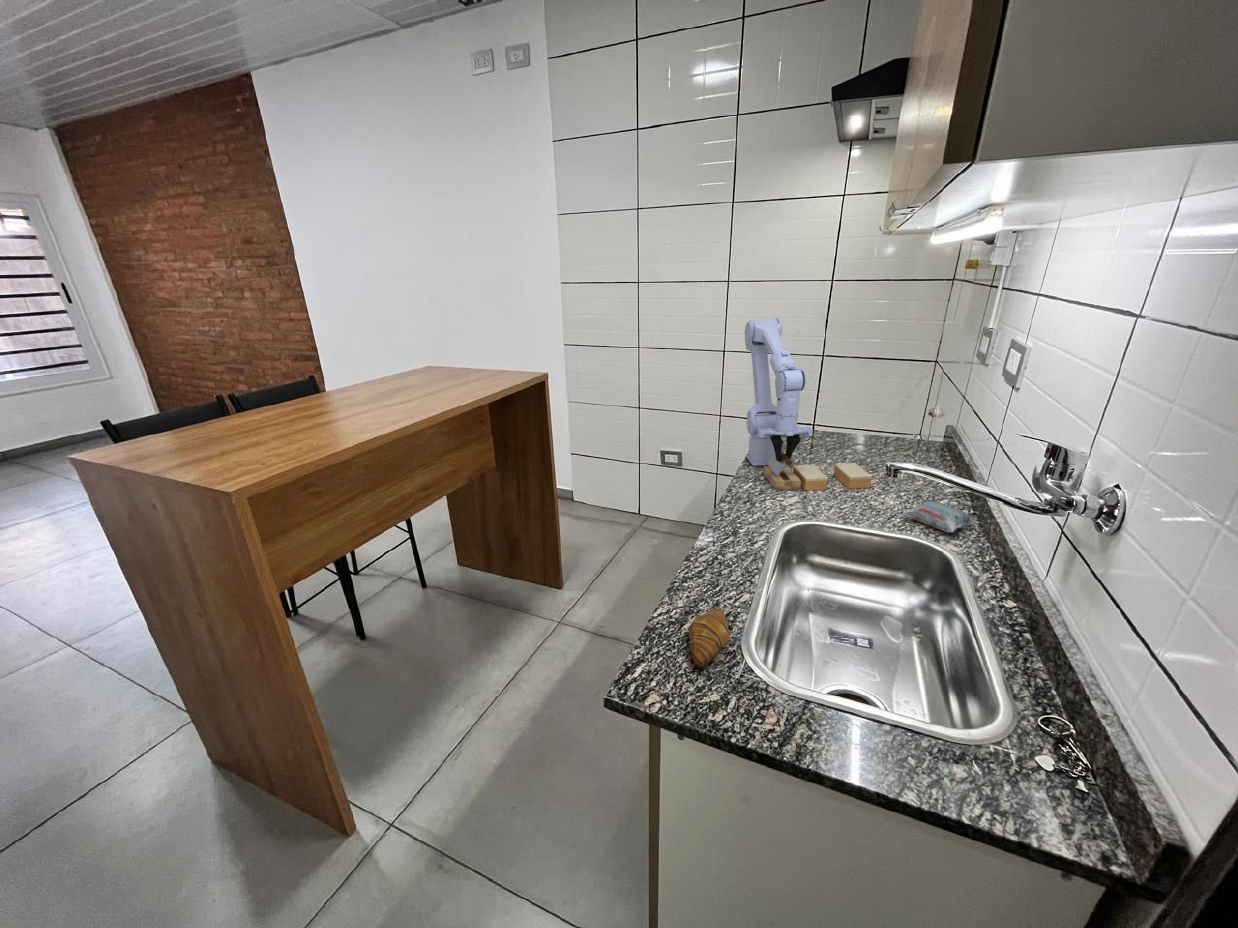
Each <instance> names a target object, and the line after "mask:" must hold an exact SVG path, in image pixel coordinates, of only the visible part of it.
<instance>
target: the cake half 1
mask: <svg viewBox="0 0 1238 928" xmlns="http://www.w3.org/2000/svg"><path fill="white" fill-rule="evenodd" d="M792 471H793V473H794V474H795V475H796V476H797V477H798V478H799V479H800V480H801V488H802V489H803V490H804V491H825V490H827V489H828V488H827V487H828V481H829V477H828V476H826V475H825V474H824V473H823V472H822V471H821V470H820V468H818V467H817V466H816V465H815V464H800V465H798V464H797V465H793V468H792Z"/></svg>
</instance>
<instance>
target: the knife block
mask: <svg viewBox="0 0 1238 928" xmlns="http://www.w3.org/2000/svg"><path fill="white" fill-rule="evenodd" d="M762 466H763V467H762V474H763V476H764V477H765V478H766V480H767V481H768V482H769V484H770V485H771V486H772V488H773V489H774V491H785V490H786V491H787V490H801V488H802V486H801V480H800V479H799V478H798V477H797V476H796V475H795V474H794V473H793V469H791V468H790V466H788V465H787V466H786V468H785V469H784V470H783V471H782V472H781V473H780V474H779V475H778V476H777V475H776V474H775V472H774V471H773V470H772V469H771V467H770V466H769V465H762Z"/></svg>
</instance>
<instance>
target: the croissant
mask: <svg viewBox="0 0 1238 928" xmlns="http://www.w3.org/2000/svg"><path fill="white" fill-rule="evenodd" d="M729 626H730V623H729V621H728V619H727V617H726V613H725V612H724V611H723V610H722V609H710V610H709V611H707V612H705V613H703V614H698V615H697V616H696V617H695V619H694V620H693V621H692V622H691V624H690V625H689V626H688V638H689V642H688V647H689V651H690V655H691V659H692V662H693V666H694V668H697V669H699V670H700V669H701V670H702V669H704V668H705V667H707V666H708V665H709V664H710V663H711V662H712V661H713V660H714V659H715V658H716V657H717V655H718V654H719V652H720V650H722V648H723V647H724V646H725V645H726V644H727V642H728V641H729V639H730V629H729Z"/></svg>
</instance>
